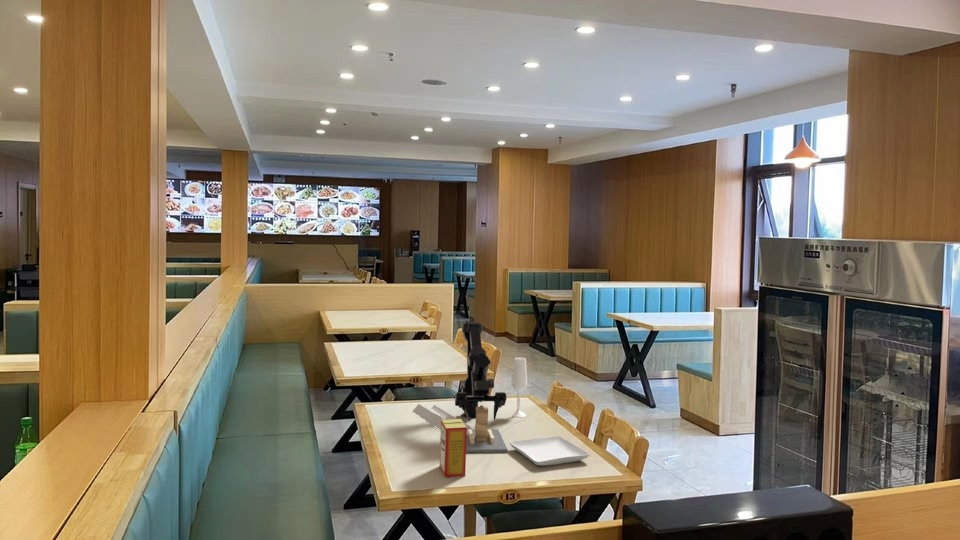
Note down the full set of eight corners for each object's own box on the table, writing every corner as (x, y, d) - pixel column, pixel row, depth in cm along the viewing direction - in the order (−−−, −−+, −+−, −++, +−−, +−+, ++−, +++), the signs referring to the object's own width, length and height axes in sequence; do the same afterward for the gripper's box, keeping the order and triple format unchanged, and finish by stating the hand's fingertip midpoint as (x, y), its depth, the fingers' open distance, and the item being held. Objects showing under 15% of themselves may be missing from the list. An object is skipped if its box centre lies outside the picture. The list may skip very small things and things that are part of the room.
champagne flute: (510, 411, 275) (513, 356, 273) (526, 413, 274) (528, 357, 272) (509, 416, 268) (511, 359, 267) (525, 417, 267) (527, 360, 266)
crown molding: (471, 431, 249) (472, 422, 249) (443, 435, 243) (444, 426, 243) (436, 409, 276) (436, 401, 276) (410, 413, 271) (411, 404, 270)
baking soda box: (465, 476, 203) (466, 426, 202) (444, 477, 202) (446, 427, 200) (459, 465, 212) (460, 417, 211) (439, 466, 211) (441, 418, 210)
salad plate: (507, 450, 229) (508, 440, 229) (559, 443, 238) (559, 434, 237) (536, 471, 210) (536, 461, 210) (591, 464, 218) (591, 454, 218)
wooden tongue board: (475, 437, 237) (476, 405, 236) (485, 437, 237) (486, 405, 236) (476, 440, 233) (477, 408, 232) (487, 440, 234) (488, 408, 233)
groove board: (456, 432, 245) (456, 424, 245) (497, 432, 247) (498, 424, 247) (461, 453, 224) (462, 444, 223) (507, 452, 226) (507, 443, 225)
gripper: (456, 370, 236) (458, 408, 226) (506, 371, 239) (510, 408, 229) (454, 386, 245) (455, 423, 235) (502, 386, 247) (506, 423, 237)
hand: (482, 419), depth 233 cm, fingers open, 9 cm apart
